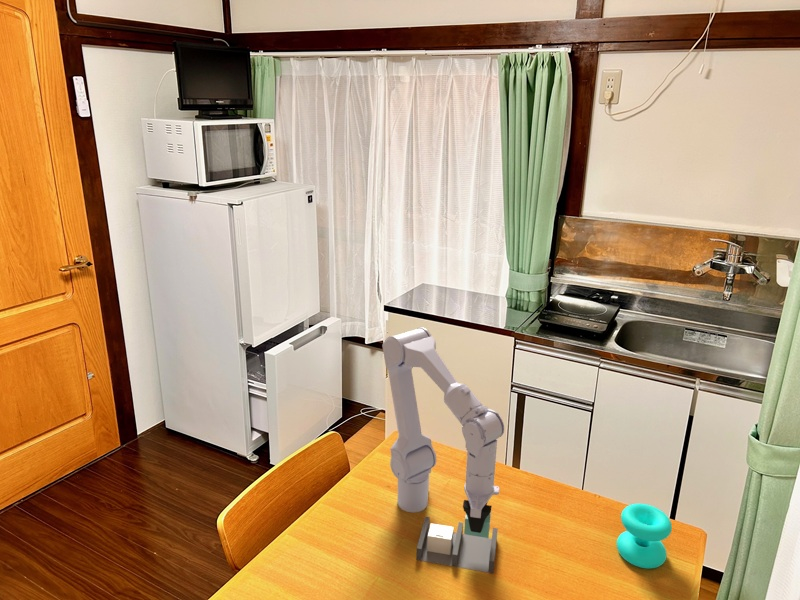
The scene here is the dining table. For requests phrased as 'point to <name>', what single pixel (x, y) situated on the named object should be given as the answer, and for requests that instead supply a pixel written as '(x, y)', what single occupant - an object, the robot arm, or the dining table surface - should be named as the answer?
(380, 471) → the dining table surface
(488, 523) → the teal box
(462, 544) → the gray shelf unit
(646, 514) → the turquoise spool
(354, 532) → the dining table surface
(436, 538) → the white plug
